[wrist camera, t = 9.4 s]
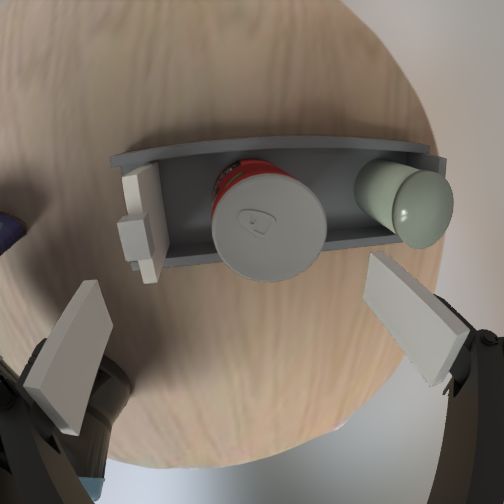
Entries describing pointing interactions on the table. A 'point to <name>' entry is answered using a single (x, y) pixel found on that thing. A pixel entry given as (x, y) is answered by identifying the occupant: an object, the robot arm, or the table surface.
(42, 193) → the table surface
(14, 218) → the flask
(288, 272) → the canned food
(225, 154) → the lane
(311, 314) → the table surface
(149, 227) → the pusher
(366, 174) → the green jar
